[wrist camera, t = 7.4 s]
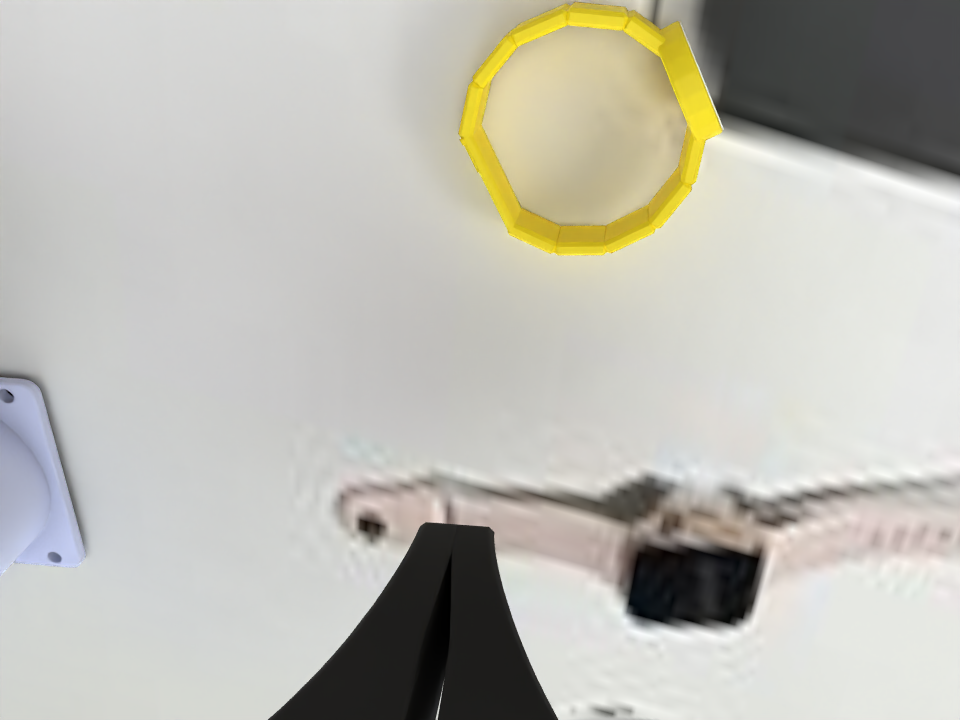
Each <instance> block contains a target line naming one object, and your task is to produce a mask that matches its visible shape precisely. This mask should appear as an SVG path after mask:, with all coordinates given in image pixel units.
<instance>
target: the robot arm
mask: <svg viewBox="0 0 960 720" xmlns="http://www.w3.org/2000/svg"><path fill="white" fill-rule="evenodd" d="M6 390H8V391H9V392H11V393H12V395H13V396H14V397H13V396H11V395H10V394H8V392H7V391H6ZM85 557H86V553H85V549H84V545H83V542H82V538H81V535H80V531H79V527H78V524H77V520H76V516H75V513H74V509H73V505H72V502H71V498H70V495H69V491H68V487H67V484H66V480H65V476H64V473H63V469H62V465H61V462H60V458H59V455H58V451H57V447H56V444H55V440H54V436H53V433H52V429H51V425H50V422H49V418H48V414H47V411H46V407H45V404H44V400H43V396H42V393H41V391H40V389H39V387H38V386H37V385H36V384H35V383H33V382H31V381H30V380H26V379H17V378H4V377H0V576H1V575H2V574H3V573H4V572H5V571H6V570H7V568H8V567H9V566H10V565H11V564H12V563H24V564H36V565H48V566H59V567H77V566H79V565H80V564H81V563H82V561H83V560H84V559H85ZM443 682H444V685H443ZM442 687H443V691H442ZM441 692H442V697H441V703H440V709H439V715H438V720H558V718H557V716H556V714H555V713H554V711H553V709H552V707H551V705H550V703H549V701H548V699H547V697H546V695H545V694H544V692H543V689H542V687H541V685H540V683H539V681H538V679H537V677H536V675H535V673H534V671H533V668H532V666H531V664H530V662H529V659H528V657H527V655H526V652H525V650H524V647H523V645H522V642H521V640H520V637H519V635H518V632H517V629H516V627H515V624H514V621H513V618H512V615H511V612H510V609H509V606H508V603H507V599H506V596H505V593H504V590H503V586H502V582H501V578H500V574H499V569H498V565H497V559H496V553H495V544H494V532H493V531H492V530H491V529H490V528H489V527H483V526H469V525H455V524H442V523H428V522H426V523H424V524H423V525H421V526H420V528H419V530H418V532H417V534H416V537H415V539H414V540H413V542H412V544H411V546H410V548H409V550H408V552H407V554H406V555H405V557H404V559H403V560H402V562H401V564H400V565H399V567H398V569H397V570H396V572H395V574H394V575H393V577H392V578H391V580H390V581H389V583H388V584H387V586H386V587H385V589H384V590H383V592H382V593H381V594H380V596H379V597H378V599H377V600H376V602H375V603H374V605H373V606H372V607H371V609H370V610H369V611H368V612H367V614H366V615H365V616H364V618H363V619H362V620H361V622H360V623H359V624H358V626H357V627H356V628H355V629H354V631H353V632H352V633H351V635H350V636H349V637H348V638H347V639H346V641H345V642H344V643H343V644H342V645H341V647H340V648H339V649H338V650H337V651H336V652H335V653H334V655H333V656H332V657H331V658H330V659H329V660H328V661H327V662H326V663H325V665H324V666H323V667H322V668H321V669H320V670H319V671H318V672H317V673H316V674H315V675H314V676H313V677H312V678H311V679H310V680H309V681H308V682H307V683H306V684H305V685H304V686H303V687H302V688H301V689H300V690H299V691H298V692H297V693H296V694H295V695H294V696H293V697H292V698H291V699H290V700H289V701H288V702H287V703H286V704H285V705H284V706H283V707H282V708H281V709H279V710H278V711H277V712H276V713H275V714H274V715H273V716H272V717H270V718H269V719H268V720H436V715H437V710H438V706H439V701H440V696H441Z"/></svg>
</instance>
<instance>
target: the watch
mask: <svg viewBox="0 0 960 720" xmlns="http://www.w3.org/2000/svg"><path fill="white" fill-rule="evenodd" d="M567 25H571V26H581V27H591V28H601V29H611V30H620V31H622V30H623V31H624V32H625V33H627V34H628V35H629V36H631V37H632V38H634V39H635V40H636V41H638V42H639V43H641V44H642V45H643V46H645V47H646V48H648V49H649V50H650V51H652V52H653V53H655V54H656V55H657V56H659V57H660V58H661V60H662V62H663V65H664V68H665V70H666V73H667V75H668V78H669V80H670V83H671V85H672V88H673V90H674V93H675V95H676V98H677V100H678V102H679V105H680V107H681V110H682V112H683V114H684V117H685V119H686V121H687V128H686V133H685V137H684V142H683V147H682V151H681V156H680V160H679V165H678V167H677V169H676V170H675V171H674V173H673V174H672V175H671V176H670V178H669V179H668V180H667V181H666V183H665V184H664V185H663V186H662V188H661V189H660V190H659V191H658V193H657V194H656V195H655V196H654V198H653V199H652V200H651V201H650V203H649V204H648V205H646V206H644V207H642V208H640V209H638V210H636V211H634V212H632V213H630V214H628V215H626V216H624V217H622V218H620V219H618V220H616V221H614V222H612V223H610V224H608V225H606V226H605V225H601V226H561V227H560V226H559V225H557V224H555V223H553V222H551V221H549V220H547V219H544V218H542V217H540V216H538V215H536V214H534V213H531V212H529V211H527V210H525V209H523V208H521V206H520V204H519V202H518V200H517V198H516V196H515V194H514V192H513V190H512V188H511V185H510V183H509V181H508V179H507V177H506V175H505V173H504V171H503V169H502V167H501V165H500V163H499V160H498V158H497V156H496V154H495V152H494V150H493V148H492V146H491V144H490V142H489V140H488V138H487V135H486V133H485V131H484V129H483V127H482V120H483V116H484V112H485V107H486V103H487V98H488V94H489V90H490V85H491V81H492V78H493V77H494V76H495V75H496V73H497V72H498V71H499V70H500V68H501V67H502V66H503V65H504V63H505V62H506V61H507V60H508V59H509V57H510V56H511V55H512V54H513V52H514V51H515V50H516V49H517V48H518V46H520V45H523V44H525V43H527V42H530V41H532V40H534V39H537V38H539V37H541V36H544V35H546V34H548V33H551V32H553V31H555V30H558V29H560V28H562V27H565V26H567ZM711 102H712V103H711ZM713 107H714V108H713ZM715 112H716V113H715ZM717 117H718V118H717ZM718 119H719V116H718V114H717V111H716V109H715V106H714V104H713V101H712V99H711V96H710V94H709V91H708V89H707V86H706V84H705V81H704V79H703V76H702V74H701V71H700V69H699V66H698V64H697V61H696V59H695V56H694V54H693V51H692V49H691V46H690V44H689V41H688V39H687V36H686V34H685V31H684V29H683V26H682V24H681V21H676V22H674V23H673V24H671V25H669V26H667V27H665V28H663V29H659V28H658V27H657V26H655V25H654V24H653V23H651V22H650V21H648V20H647V19H646V18H644V17H643V16H641V15H640V14H639V13H637V12H636V11H635V10H632V11H628V10H627V8H626V7H621V6H611V5H601V4H591V3H580V2H574V3H573V4H572V5H571V6H570V5H568V4H564V5H561V6H559V7H557V8H554V9H552V10H550V11H548V12H545V13H543V14H541V15H539V16H536V17H534V18H532V19H529V20H527V21H525V22H523V23H520V24H519V25H518V26H517V27H515V28H514V29H512V30H511V31H510V32H509V33H508V34H507V35H506V36H505V37H504V38H503V39H502V40H501V42H500V43H499V44H498V45H497V47H496V48H495V49H494V50H493V52H492V53H491V54H490V55H489V57H488V58H487V59H486V60H485V62H484V63H483V64H482V65H481V67H480V68H479V69H478V70H477V72H476V73H475V74H474V75H473V81H472V82H471V83H470V84H469V86H468V90H467V95H466V100H465V105H464V109H463V114H462V119H461V124H460V128H459V133H458V134H459V135H460V137H461V139H460V142H461V143H462V145H464V146H465V148H466V150H467V152H468V154H469V156H470V158H471V160H472V162H473V164H474V166H475V168H476V170H477V172H479V173H480V175H481V177H482V179H483V181H484V184H485V186H486V188H487V190H488V192H489V194H490V196H491V198H492V200H493V202H494V204H495V206H496V208H497V210H498V212H499V214H500V216H501V218H502V220H503V222H504V224H505V226H506V228H507V230H508V233H509V235H511V236H513V237H515V238H517V239H519V240H521V241H524V242H526V243H528V244H530V245H532V246H535V247H537V248H539V249H541V250H543V251H545V252H548V253H550V254H551V253H554V252H555V253H556V254H557V255H604V254H605V253H606V252H609V253H613V252H615V251H617V250H619V249H621V248H623V247H626V246H628V245H630V244H632V243H634V242H636V241H638V240H640V239H643V238H645V237H647V236H649V235H651V234H653V233H654V232H655V229H657V228H661V227H662V226H663V224H664V223H665V222H666V221H667V220H668V218H669V217H670V216H671V215H672V213H673V212H674V211H675V210H676V209H677V207H678V206H679V205H680V204H681V203H682V201H683V200H684V199H685V198H686V197H687V195H688V194H689V193H690V192H691V190H692V187H691V185H692V184H694V183H695V182H696V179H697V175H698V171H699V166H700V162H701V158H702V154H703V149H704V145H705V141H706V140H707V139H710V138H712V137H714V136H716V135H718V134H720V133H722V129H723V126H722V124H721V121H720V119H719V120H718ZM719 122H720V123H719ZM720 124H721V125H720ZM721 127H722V128H721Z"/></svg>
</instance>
